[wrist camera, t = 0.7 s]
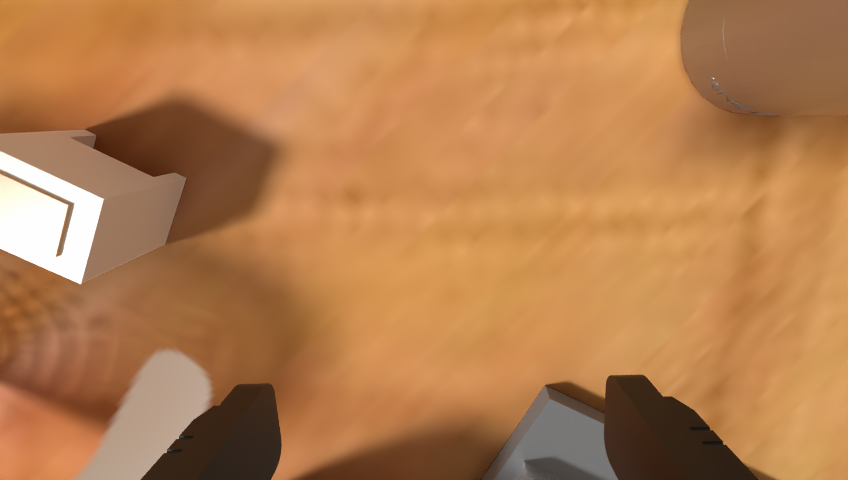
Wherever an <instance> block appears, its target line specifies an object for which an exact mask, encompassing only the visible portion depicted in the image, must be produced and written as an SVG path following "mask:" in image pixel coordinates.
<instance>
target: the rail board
mask: <svg viewBox="0 0 848 480" xmlns="http://www.w3.org/2000/svg"><path fill="white" fill-rule="evenodd" d="M604 416H605V413H603V412H601V411H599V410H597V409H594V408H592V407H590V406H588V405H586V404H584V403H582V402H580V401H577V400H575V399H573V398H571V397H569V396H567V395H565V394H562V393H560V392H558V391H556V390H554V389H552V388H550V387H547V386H544V388H543V389H542V391H541V392H540V394H539V395H538V397H537V398H536V400H535V401H534V403H533V404H532V405H531V407H530V408H529V410H528V411H527V413H526V414H525V416H524V417H523V419H522V420H521V422H520V423H519V425H518V426H517V428H516V429H515V431H514V432H513V434H512V435H511V436H510V438H509V439H508V441H507V442H506V444H505V445H504V447H503V448H502V450H501V451H500V453H499V454H498V456H497V457H496V459H495V460H494V462H493V463H492V465H491V466H490V468H489V469H488V470H487V472H486V473H485V475H484V476H483V478H482V479H481V480H510V479H511V478H512V477H513V475H514V474H515V472H516V471H517V469H518V468H519V467H520V465H521V464H522V462H523V461H527V462H529V463H531V464H533V465H535V466H538V467H540V468H542V469H544V470H547V471H549V472H551V473H553V474H555V475H558V476H560V477H562V478H564V479H567V480H618V478H617V476H616V475H615V473H614V471H613V469H612V467H611V465H610V463H609V460H608V457H607V454H606V449H605V444H604Z"/></svg>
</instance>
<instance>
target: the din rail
mask: <svg viewBox="0 0 848 480" xmlns="http://www.w3.org/2000/svg"><path fill="white" fill-rule="evenodd" d="M510 480H567V479H564V478H562V477H560V476H558V475H555V474H553V473H551V472H549V471H547V470H544V469H542V468H540V467H538V466H535V465H533V464H531V463H529V462H527V461H523V462H522V464H521V465H520V467H519V468H518V469H517V471H516V472H515V474H514V475H513V477H512V478H511V479H510Z"/></svg>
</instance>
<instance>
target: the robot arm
mask: <svg viewBox="0 0 848 480" xmlns="http://www.w3.org/2000/svg"><path fill="white" fill-rule="evenodd" d="M681 54H682V58H683V63H684V67H685V70H686V72H687V74H688V76H689V78H690V80H691V82H692V84H693V85H694V86H695V88H696V89H697V90H698V91H699V92H700V94H701V95H702V96H703V97H704V98H706V99H707V100H708V101H710V102H711V103H713V104H714V105H715V106H717V107H720V108H722V109H725V110H728V111H730V112H734V113H741V114H748V115H768V116H780V115H806V116H848V0H689V3H688V5H687V8H686V10H685V13H684V18H683V23H682V29H681ZM604 444H605V449H606V454H607V457H608V460H609V463H610V465H611V467H612V469H613V471H614V473H615V475H616V476H617V478H618V480H758V479H757V478H756V477H755V476H754V475H753V474H752V473H751V471H750V470H749V469H748V468H747V467H746V466H745V465H744V464H743V463H742V462H741V461H740V460H739V458H738V457H737V456H736V455H735V454H734V453H733V452H732V451H731V450H730V449H729V448H728V447H727V445H723V441H722V440H721V439H720V438H719V437H718V436H717V435H716V434H715V432H714V431H713V430H710V428H709V426H708V425H707V424H706V423H705V422H704V421H703V419H702V418H701V417H700V416H699V415H698V414H697V413H696V412H695V411H694V410H693V409H691V408H689V407H688V406H686V405H685V404H683V403H681V402H680V401H678V400H676V399H675V398H673V397H663V396H662V395H661V394H660V393H659V392H658V390H657V389H656V388H655V387H654V386H653V384H652V383H651V382H650V381H649V380H648V379H647V378H646V377H645V376H644V375H612V376H609V377H608V378H607V381H606V394H605V416H604ZM280 454H281V434H280V427H279V420H278V413H277V406H276V399H275V393H274V389H273V387H272V385H271V384H269V383H267V384H239V385H237V386H236V387H235V388H234V389H233V390H232V391H231V392H230V394H229V395H228V396H227V397H226V398H225V400H224V401H223V402H222V403H221V404H220V406H213V407H212V408H210V409H209V410H208V411H206V412H205V413H203V414H202V415H200V416H199V417H197V418H196V419H194V420H193V421H192V422H191V423H190V425H189V426H188V427H187V428H186V429H185V430H184V431H183V432H182V434H181V435H180V436H179V439H176V440H175V441H174V443H173V444H172V445H171V446H170V447H169V448H168V449H167V453H164V454H163V455H162V456H161V457H160V458H159V460H158V461H157V462H156V463H155V464H154V465H153V466H152V467H151V469H150V470H149V471H148V472H147V473H146V475H144V476H143V478H142V479H141V480H271V478H272V476H273V474H274V472H275V470H276V468H277V466H278V463H279V459H280Z"/></svg>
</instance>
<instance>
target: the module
mask: <svg viewBox="0 0 848 480" xmlns="http://www.w3.org/2000/svg"><path fill="white" fill-rule="evenodd" d="M96 136H97V135H95V134H93V133H91V132H89V131H87V130H85V129H82V130H63V131H43V132H23V133H3V134H0V249H3V250H5V251H7V252H9V253H11V254H14V255H16V256H18V257H20V258H23V259H25V260H27V261H29V262H32V263H34V264H36V265H38V266H41V267H43V268H45V269H47V270H50V271H52V272H54V273H56V274H59V275H61V276H63V277H65V278H67V279H70V280H72V281H74V282H76V283H79V284H83V283H85V282H87V281H89V280H91V279H93V278H96V277H98V276H100V275H102V274H104V273H106V272H108V271H110V270H112V269H115V268H117V267H119V266H121V265H123V264H125V263H127V262H129V261H132V260H134V259H136V258H138V257H140V256H142V255H144V254H146V253H149V252H151V251H153V250H155V249H157V248H159V247H161V246H163V245H165V243H166V240H167V237H168V234H169V231H170V228H171V225H172V222H173V219H174V215H175V212H176V209H177V206H178V203H179V200H180V197H181V194H182V191H183V188H184V185H185V181H186V177H184V176H181V175H179V174H177V173H175V172H174V173H170V174H165V175H161V176H156V177H152V176H150V175H148V174H146V173H144V172H142V171H139V170H137V169H135V168H133V167H131V166H129V165H127V164H125V163H123V162H120V161H118V160H116V159H114V158H112V157H110V156H108V155H106V154H104V153H101V152H99V151H97V150H95V149H93V148H94V144H95V140H96Z"/></svg>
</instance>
